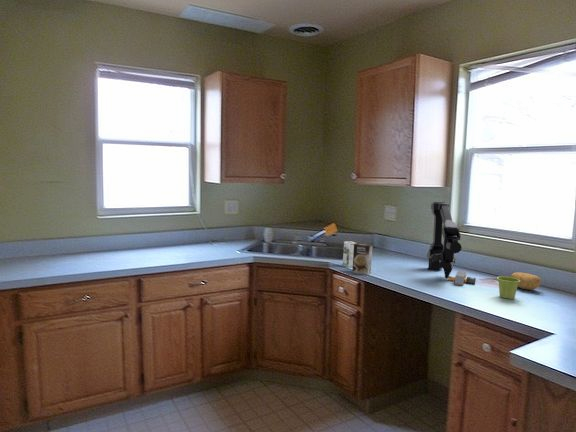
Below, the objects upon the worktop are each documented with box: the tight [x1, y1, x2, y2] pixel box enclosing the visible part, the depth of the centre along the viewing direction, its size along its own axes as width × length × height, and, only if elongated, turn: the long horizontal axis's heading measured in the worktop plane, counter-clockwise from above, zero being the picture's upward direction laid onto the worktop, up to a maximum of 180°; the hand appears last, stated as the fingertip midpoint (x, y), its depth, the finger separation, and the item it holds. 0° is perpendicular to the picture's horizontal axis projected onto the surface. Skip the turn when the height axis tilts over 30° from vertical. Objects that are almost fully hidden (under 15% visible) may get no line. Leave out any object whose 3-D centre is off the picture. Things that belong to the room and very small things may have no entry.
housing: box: [454, 269, 467, 286], centre depth 215 cm, size 4×14×5 cm, turn 152°
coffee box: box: [352, 242, 373, 276], centre depth 227 cm, size 9×6×16 cm
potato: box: [510, 271, 542, 291], centre depth 205 cm, size 10×14×8 cm
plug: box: [447, 275, 477, 285], centre depth 215 cm, size 13×3×3 cm, turn 62°
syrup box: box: [342, 240, 357, 268], centre depth 243 cm, size 6×6×14 cm
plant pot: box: [496, 276, 520, 300], centre depth 191 cm, size 9×9×9 cm
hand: (446, 278), depth 218 cm, fingers closed, pressing on plug
